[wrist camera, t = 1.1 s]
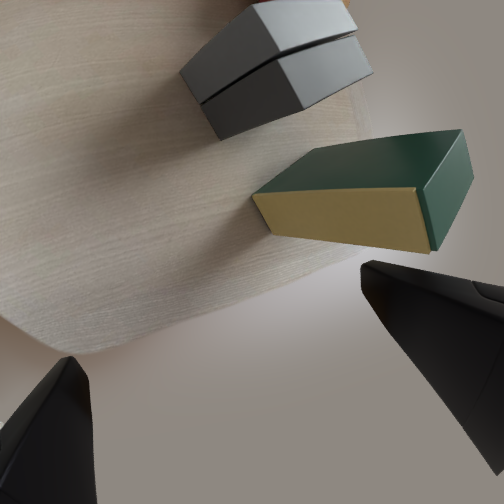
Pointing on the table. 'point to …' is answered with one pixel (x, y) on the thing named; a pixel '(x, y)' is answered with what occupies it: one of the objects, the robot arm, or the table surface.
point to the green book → (373, 192)
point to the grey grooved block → (275, 63)
